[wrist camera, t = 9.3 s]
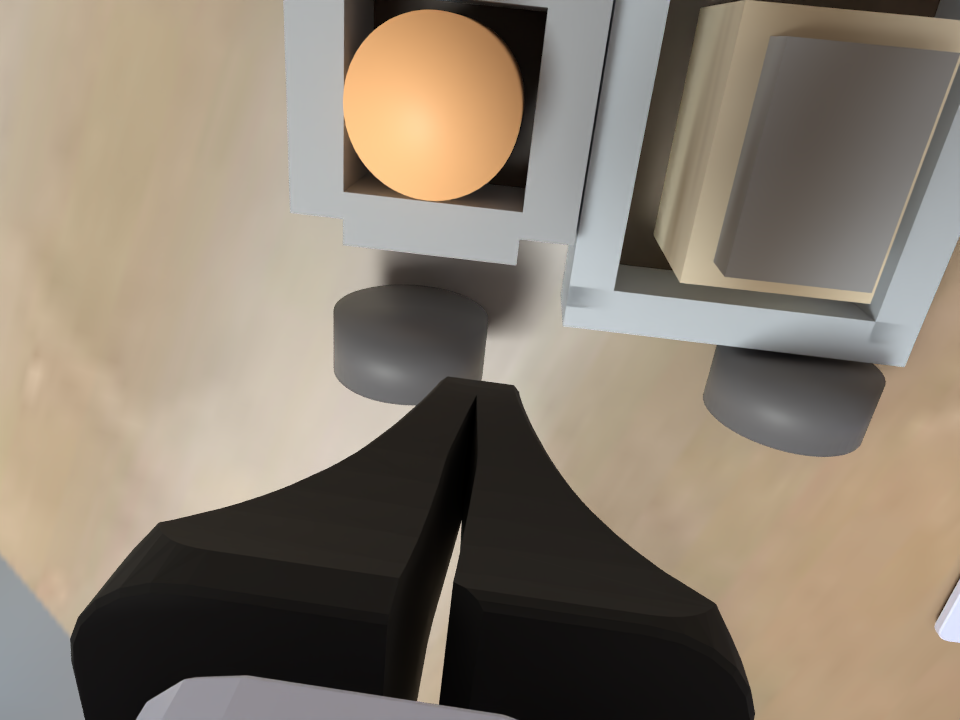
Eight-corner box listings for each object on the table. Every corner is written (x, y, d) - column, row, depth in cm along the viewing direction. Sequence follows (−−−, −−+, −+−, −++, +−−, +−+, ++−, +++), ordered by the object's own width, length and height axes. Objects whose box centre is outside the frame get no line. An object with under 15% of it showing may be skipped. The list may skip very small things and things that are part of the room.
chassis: (1067, -200, 15) (1256, -285, 11) (842, 389, 21) (910, 468, 18) (319, -268, 15) (243, -372, 12) (325, 326, 22) (277, 389, 18)
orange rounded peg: (534, 23, 17) (532, 19, 14) (516, 179, 19) (510, 210, 16) (382, 7, 17) (343, 0, 14) (377, 163, 19) (342, 191, 16)
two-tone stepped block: (875, 24, 17) (1010, 20, 12) (805, 250, 20) (891, 321, 15) (699, 8, 17) (762, -4, 12) (652, 234, 20) (688, 299, 15)
